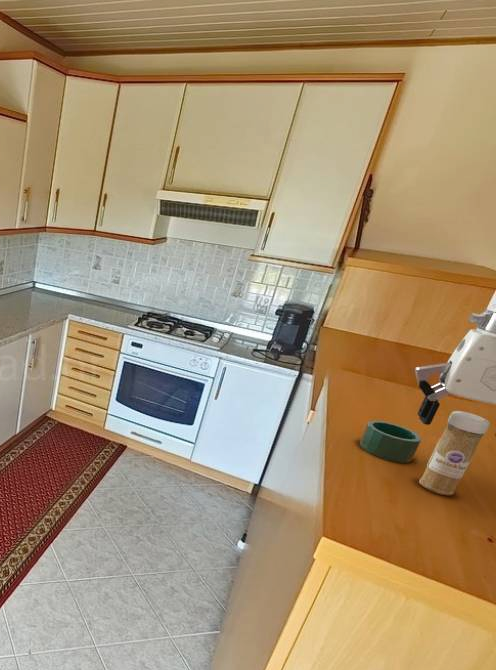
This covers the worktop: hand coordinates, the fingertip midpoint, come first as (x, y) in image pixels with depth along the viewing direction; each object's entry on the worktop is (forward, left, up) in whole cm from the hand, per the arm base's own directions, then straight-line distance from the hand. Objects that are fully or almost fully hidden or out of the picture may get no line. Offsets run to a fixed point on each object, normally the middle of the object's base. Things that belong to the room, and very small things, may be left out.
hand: (461, 430), depth 78 cm
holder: (+5, -11, -11) cm, 16 cm away
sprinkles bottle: (0, 0, -11) cm, 11 cm away
